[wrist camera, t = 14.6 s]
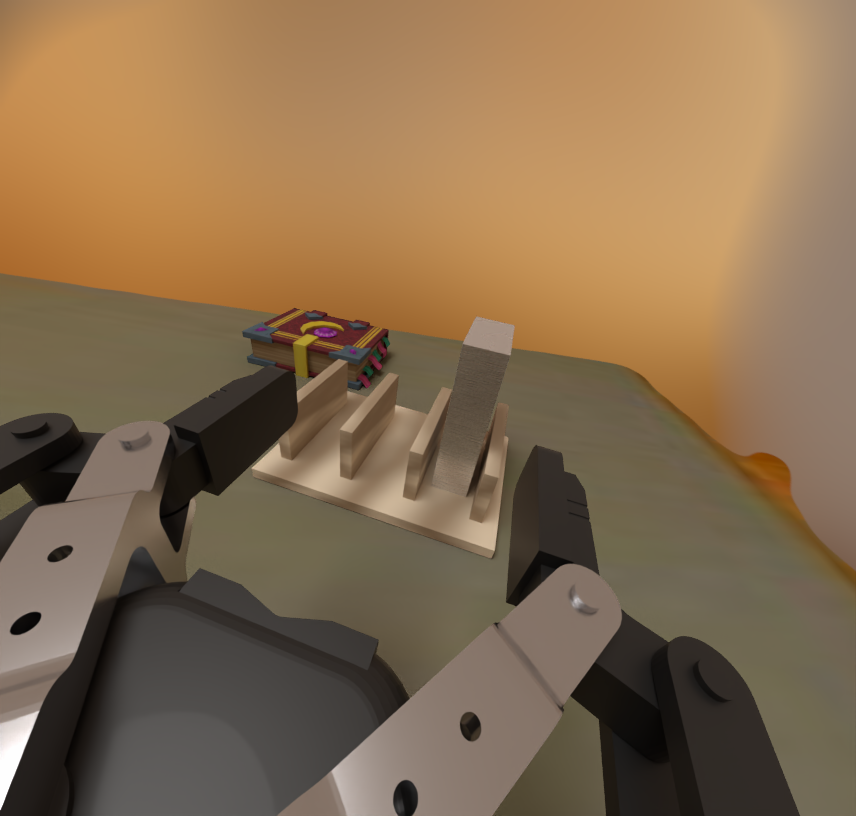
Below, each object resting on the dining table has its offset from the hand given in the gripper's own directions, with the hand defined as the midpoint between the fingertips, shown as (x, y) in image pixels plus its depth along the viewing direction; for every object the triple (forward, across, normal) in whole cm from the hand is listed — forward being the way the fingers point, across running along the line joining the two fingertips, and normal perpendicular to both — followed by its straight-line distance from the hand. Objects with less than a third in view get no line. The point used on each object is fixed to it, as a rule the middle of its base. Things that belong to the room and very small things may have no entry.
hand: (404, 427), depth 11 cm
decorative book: (+29, +19, +16) cm, 38 cm away
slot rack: (+14, +4, +16) cm, 21 cm away
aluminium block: (+14, -2, +14) cm, 20 cm away
